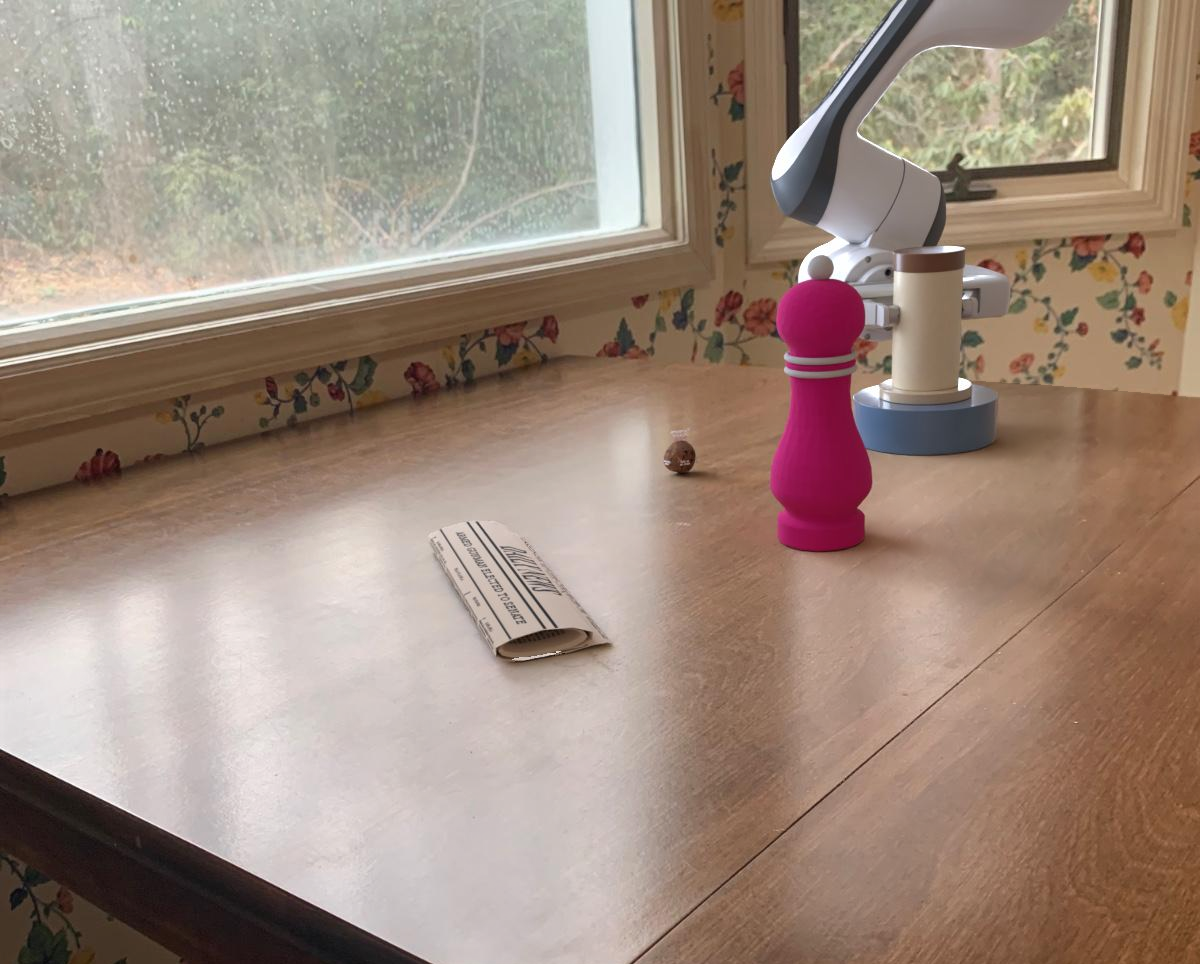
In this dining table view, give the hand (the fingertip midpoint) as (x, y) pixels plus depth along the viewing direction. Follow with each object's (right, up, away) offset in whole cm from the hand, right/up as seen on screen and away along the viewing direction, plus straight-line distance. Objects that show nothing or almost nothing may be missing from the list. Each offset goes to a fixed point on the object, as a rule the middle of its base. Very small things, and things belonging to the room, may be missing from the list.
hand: (931, 312), depth 108 cm
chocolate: (-23, -15, -1) cm, 27 cm away
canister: (0, -6, +3) cm, 7 cm away
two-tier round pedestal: (+1, -10, +5) cm, 12 cm away
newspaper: (-36, -25, -26) cm, 51 cm away
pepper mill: (-14, -21, -20) cm, 32 cm away
